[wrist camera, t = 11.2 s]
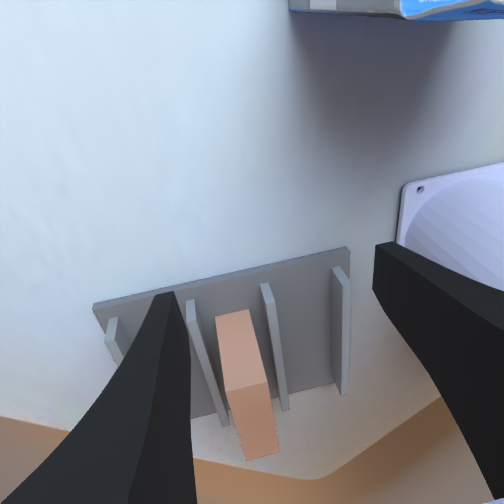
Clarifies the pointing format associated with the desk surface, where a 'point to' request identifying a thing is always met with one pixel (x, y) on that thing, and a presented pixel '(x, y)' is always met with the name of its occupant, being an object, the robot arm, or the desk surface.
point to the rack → (255, 325)
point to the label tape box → (407, 8)
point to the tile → (246, 385)
